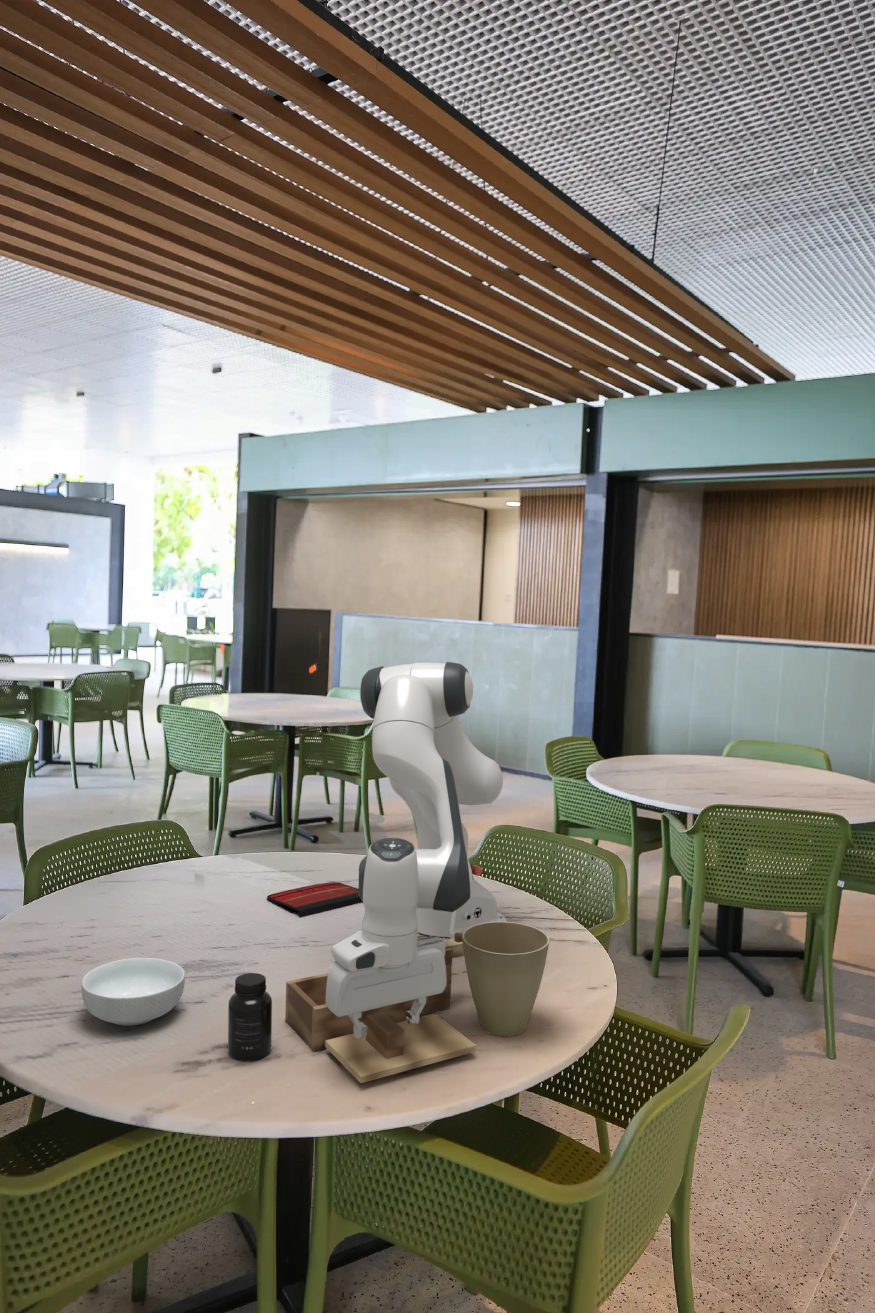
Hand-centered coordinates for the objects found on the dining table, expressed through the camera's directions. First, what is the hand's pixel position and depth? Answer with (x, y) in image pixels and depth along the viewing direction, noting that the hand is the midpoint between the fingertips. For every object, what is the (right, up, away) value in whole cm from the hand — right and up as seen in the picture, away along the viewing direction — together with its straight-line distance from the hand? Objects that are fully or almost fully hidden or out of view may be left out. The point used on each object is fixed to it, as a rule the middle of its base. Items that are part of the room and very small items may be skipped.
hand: (386, 1029), depth 147 cm
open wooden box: (-3, -4, +14) cm, 15 cm away
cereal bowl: (-44, -3, +12) cm, 46 cm away
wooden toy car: (+9, +5, +21) cm, 24 cm away
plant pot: (+19, -5, +13) cm, 24 cm away
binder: (-20, 0, +75) cm, 78 cm away
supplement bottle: (-22, -4, +1) cm, 23 cm away
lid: (+2, -5, +2) cm, 6 cm away
